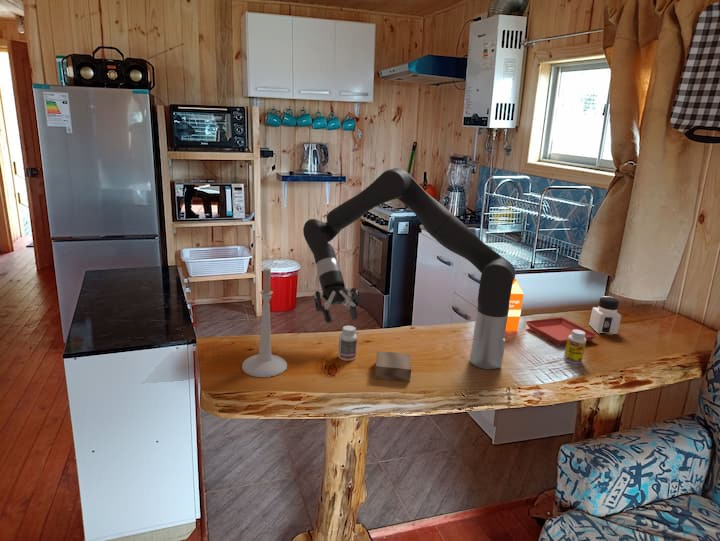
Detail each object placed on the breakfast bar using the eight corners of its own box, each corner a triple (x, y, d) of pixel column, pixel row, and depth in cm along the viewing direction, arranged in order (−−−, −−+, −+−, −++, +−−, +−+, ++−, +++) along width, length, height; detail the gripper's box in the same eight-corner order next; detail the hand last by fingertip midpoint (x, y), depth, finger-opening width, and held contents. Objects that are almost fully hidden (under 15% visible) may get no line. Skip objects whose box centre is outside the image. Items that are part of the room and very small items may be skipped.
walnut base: (408, 365, 160) (410, 353, 159) (409, 382, 150) (411, 369, 149) (375, 362, 160) (377, 350, 159) (374, 378, 151) (376, 366, 149)
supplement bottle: (564, 362, 170) (570, 333, 167) (563, 355, 176) (569, 327, 173) (582, 365, 169) (588, 336, 166) (581, 358, 174) (587, 330, 171)
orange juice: (498, 332, 191) (506, 279, 185) (487, 322, 199) (495, 271, 193) (517, 331, 193) (527, 279, 187) (506, 322, 201) (515, 272, 195)
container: (617, 335, 197) (625, 302, 193) (596, 333, 196) (604, 300, 193) (608, 327, 204) (615, 295, 200) (588, 325, 204) (595, 293, 200)
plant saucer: (523, 328, 197) (524, 320, 196) (560, 324, 204) (561, 316, 203) (557, 349, 181) (559, 340, 180) (596, 343, 188) (598, 335, 187)
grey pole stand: (287, 377, 148) (291, 275, 139) (240, 377, 146) (241, 274, 137) (286, 356, 160) (290, 261, 151) (243, 356, 158) (244, 260, 149)
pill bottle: (359, 359, 162) (361, 329, 159) (344, 362, 159) (346, 332, 156) (349, 352, 166) (351, 323, 163) (334, 355, 163) (336, 326, 160)
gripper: (312, 270, 164) (325, 318, 158) (353, 267, 170) (367, 313, 164) (305, 281, 170) (317, 328, 164) (345, 278, 176) (358, 323, 170)
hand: (342, 320), depth 164 cm, fingers open, 8 cm apart
